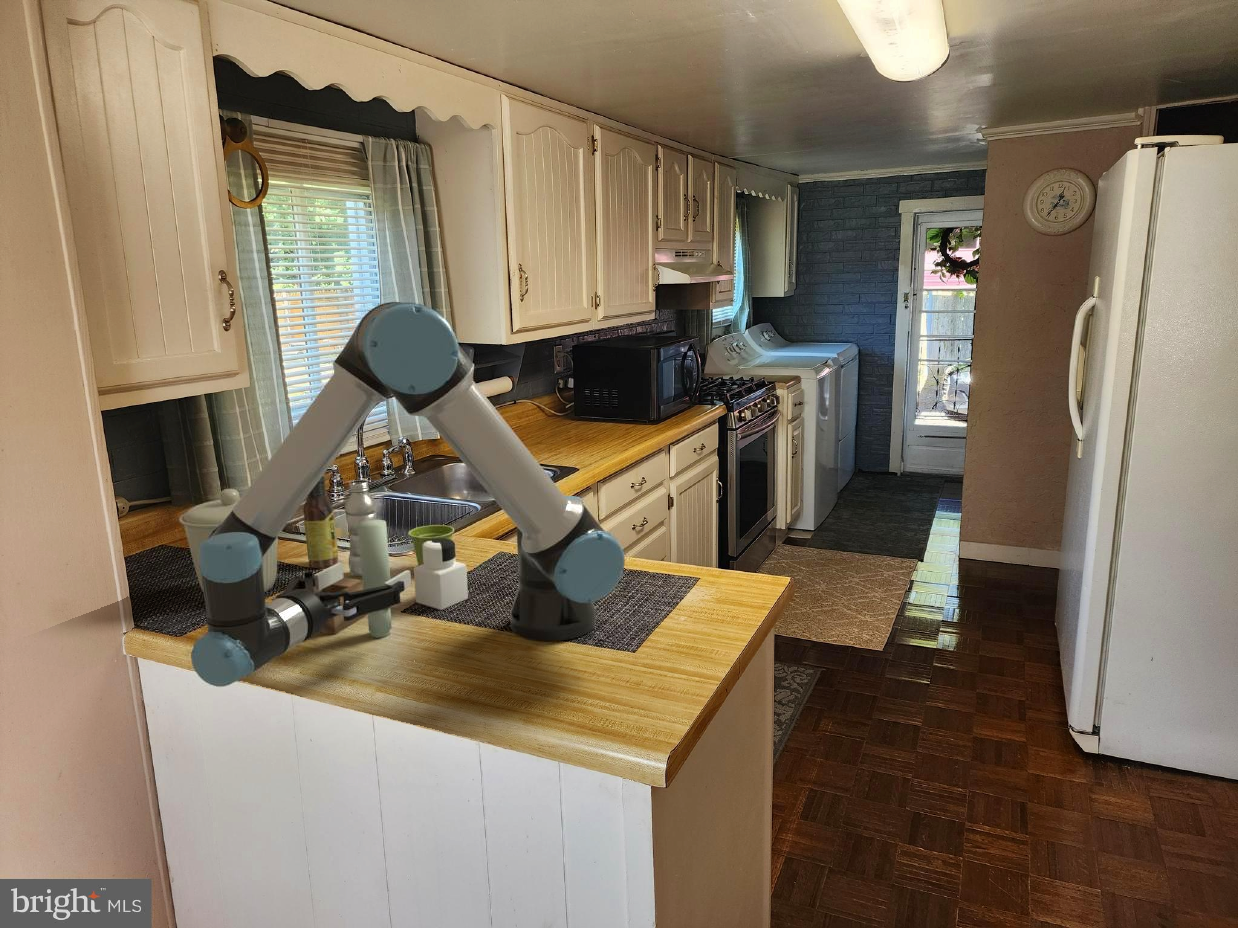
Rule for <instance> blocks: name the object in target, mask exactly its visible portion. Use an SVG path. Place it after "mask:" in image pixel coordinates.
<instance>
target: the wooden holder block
mask: <svg viewBox="0 0 1238 928" xmlns="http://www.w3.org/2000/svg"><path fill="white" fill-rule="evenodd" d="M305 590H306V589H305ZM344 590H346V591H347V592H349V593H350V592H355V591H360V590H363V582H362V579H354V578H348V577H347V578H346V577H344V578H342V579H341V580H339V581H337V582H335V583H333V584H331V585H329V586H327V587H325V588H323V589H322V590H320V591H317V590H315V587H314V593H317V592H330V593H334V592H339V591H344ZM275 599H276V596H275V597H273V598H271V601H273V600H275ZM343 604H344V601H343V597H340V606H343ZM366 616H368V614H364V615H361V616H358V617H356V618H354V619H352V620H350V621H344V616H343V615H337V616H335V617H333V618H330V619H328V620H327V621H326V623H325V625H324V627H323V629H322V630H321V631H320V632H319V633H322V634H323V633H324V634H331V635H337V634H339V633H340V632H341V631H344V630H345V629H347V628H349V627H350V626H352V625H353V624H355V623H357V622H358V621H360V620H361V619H364V617H365V618H366Z"/></svg>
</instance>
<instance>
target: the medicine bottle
mask: <svg viewBox="0 0 1238 928" xmlns="http://www.w3.org/2000/svg"><path fill="white" fill-rule="evenodd" d="M422 549H423V563H424V564H422V565H420V566H418V565H417V566H415V567H414V568H413V580H414V581H413V582H414V593H415V602H416V603H417V604H420V605H423V606H426V607H430V608H433V609H436V610H439V611H442V610H445V609H448V608H449V607H451V606H454V605H457V604H459V603H462V602H463V601H466V600H467V599H469V594H468V593H469V592H468V591H469V590H468V573H467V564H466V563H463V562H460V561H457V559H456V558H457V557H456V556H457V555H456V543H455V541H454V540H452V539H451V540H450V539H446V538H436V539H431V540H428V541H426V542H425V543H424V544H423V545H422Z"/></svg>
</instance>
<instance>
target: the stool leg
mask: <svg viewBox="0 0 1238 928" xmlns="http://www.w3.org/2000/svg"><path fill="white" fill-rule="evenodd" d="M358 534H359V546H360V558H361V570H362V577H361V578H362V579H361V580H362V582H363V590H365V589H370V588H376V587H381V586H384V583H385V582H387V581H389V580H390V579H391V572H390V571H391V569H390V556H389V544H388V528H387V521H385V520H382V519H376V520H367V521H363V522H360V523H358ZM391 607H392V606H390V607H387V608H384V609H381V610H377V611H374V612H371V613H368V615H367V624H368V625H367V626H368V632H369V633H370V636H371V637H372V638H375V639H382V638H386V637H388V636H389V635H391V630H392V627H393V626H392V614H391Z"/></svg>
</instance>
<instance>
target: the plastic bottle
mask: <svg viewBox="0 0 1238 928" xmlns="http://www.w3.org/2000/svg"><path fill="white" fill-rule="evenodd" d="M348 486H349V488H348V491H349V492H350V495H349V497H348V498H347V500H346V502H345V504H344V508H343V509H344V513H345V519H346V522H347V526H348V527H347V528H348V533H349V534H348V535H349V555H348V568H349V572H350V573H351V574H352V575H353V576H354V577H359V578H362V570H361V558H360V546H359V534H358V523H360V522H363V521H367V520H377V512H378V505H377V502H376V500H375V499H374V497H373V496H372V495H371V494H370V493H369V491H370V488H369V482H368V480H366V479H358V480H357V479H356V480H351V481H349V485H348Z"/></svg>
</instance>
